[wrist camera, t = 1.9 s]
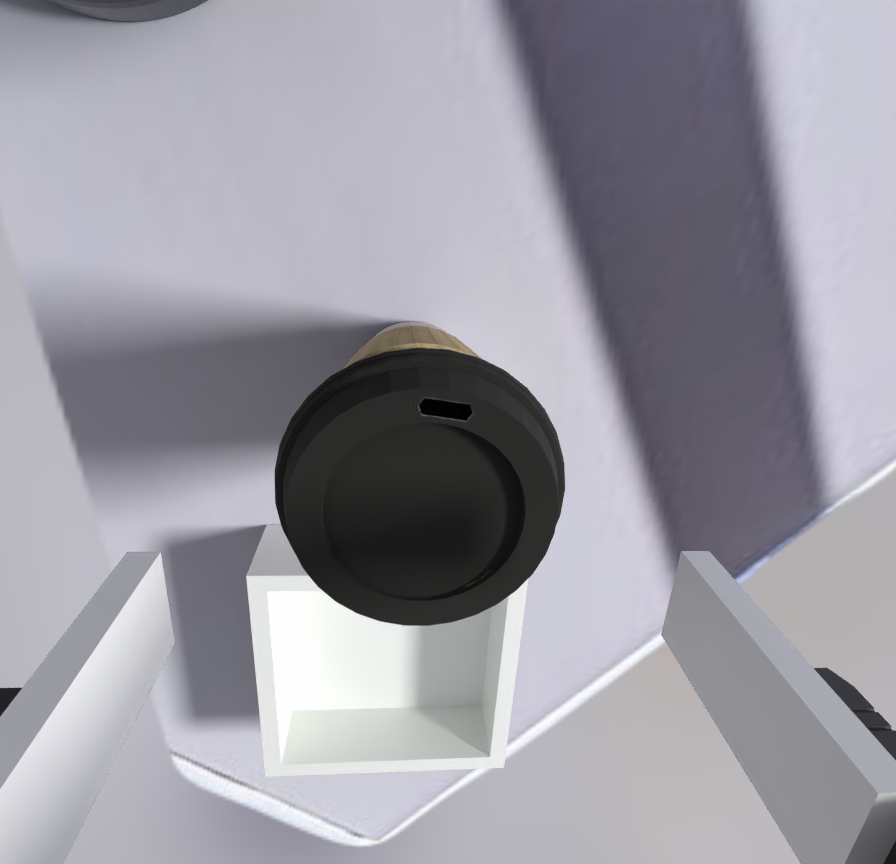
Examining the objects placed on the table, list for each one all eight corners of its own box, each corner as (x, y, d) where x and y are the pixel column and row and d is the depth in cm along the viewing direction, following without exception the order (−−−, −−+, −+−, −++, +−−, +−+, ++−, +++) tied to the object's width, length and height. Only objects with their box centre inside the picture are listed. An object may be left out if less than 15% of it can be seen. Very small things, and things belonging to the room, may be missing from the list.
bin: (266, 524, 34) (246, 575, 30) (512, 525, 36) (528, 574, 31) (280, 709, 40) (265, 776, 35) (492, 703, 41) (504, 767, 37)
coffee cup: (313, 445, 33) (252, 628, 19) (332, 270, 29) (273, 337, 15) (481, 467, 34) (538, 653, 20) (518, 303, 30) (619, 392, 17)
